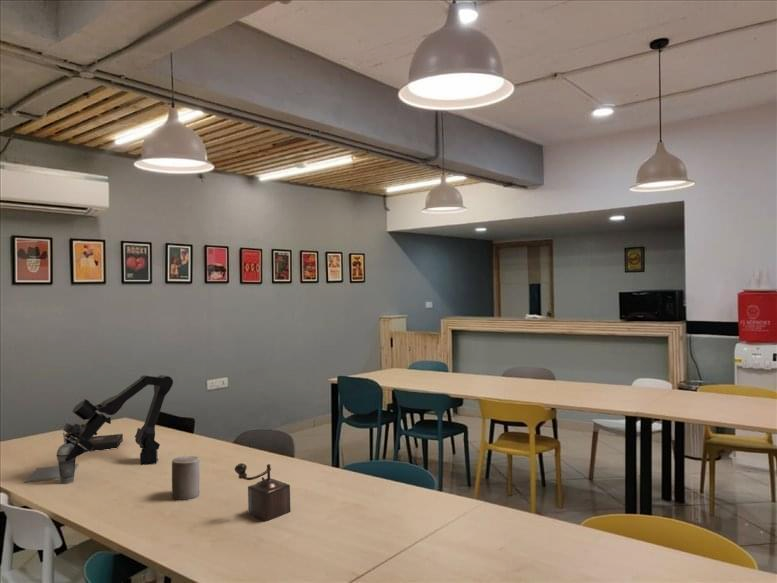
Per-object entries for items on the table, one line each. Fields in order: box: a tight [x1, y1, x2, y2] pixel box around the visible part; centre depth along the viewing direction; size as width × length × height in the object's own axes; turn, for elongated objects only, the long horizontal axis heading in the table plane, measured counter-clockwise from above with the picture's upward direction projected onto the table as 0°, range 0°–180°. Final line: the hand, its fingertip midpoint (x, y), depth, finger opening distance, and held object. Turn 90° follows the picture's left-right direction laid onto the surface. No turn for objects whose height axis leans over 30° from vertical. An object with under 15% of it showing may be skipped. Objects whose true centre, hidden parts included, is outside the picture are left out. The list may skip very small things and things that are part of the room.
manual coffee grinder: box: [234, 463, 291, 522], centre depth 181 cm, size 16×11×18 cm
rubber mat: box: [24, 463, 79, 483], centre depth 231 cm, size 16×18×1 cm
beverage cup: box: [56, 432, 77, 485], centre depth 219 cm, size 7×7×20 cm
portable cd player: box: [87, 433, 124, 452], centre depth 273 cm, size 16×17×4 cm
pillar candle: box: [171, 455, 201, 501], centre depth 200 cm, size 10×10×15 cm
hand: (63, 459), depth 218 cm, fingers closed on beverage cup, 7 cm apart
